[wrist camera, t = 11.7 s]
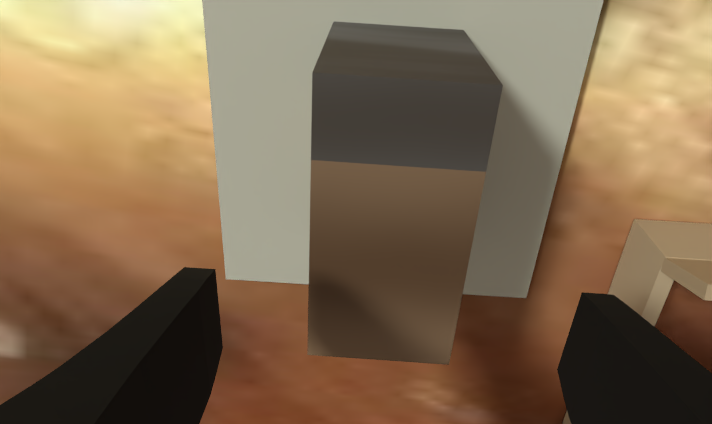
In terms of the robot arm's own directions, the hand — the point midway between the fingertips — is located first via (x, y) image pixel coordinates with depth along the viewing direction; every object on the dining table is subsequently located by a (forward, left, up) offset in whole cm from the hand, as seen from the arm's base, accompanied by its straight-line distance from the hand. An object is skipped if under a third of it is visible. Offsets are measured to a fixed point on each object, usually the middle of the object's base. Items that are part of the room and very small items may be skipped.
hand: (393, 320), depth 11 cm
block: (0, 0, -9) cm, 9 cm away
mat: (0, 0, -9) cm, 9 cm away
